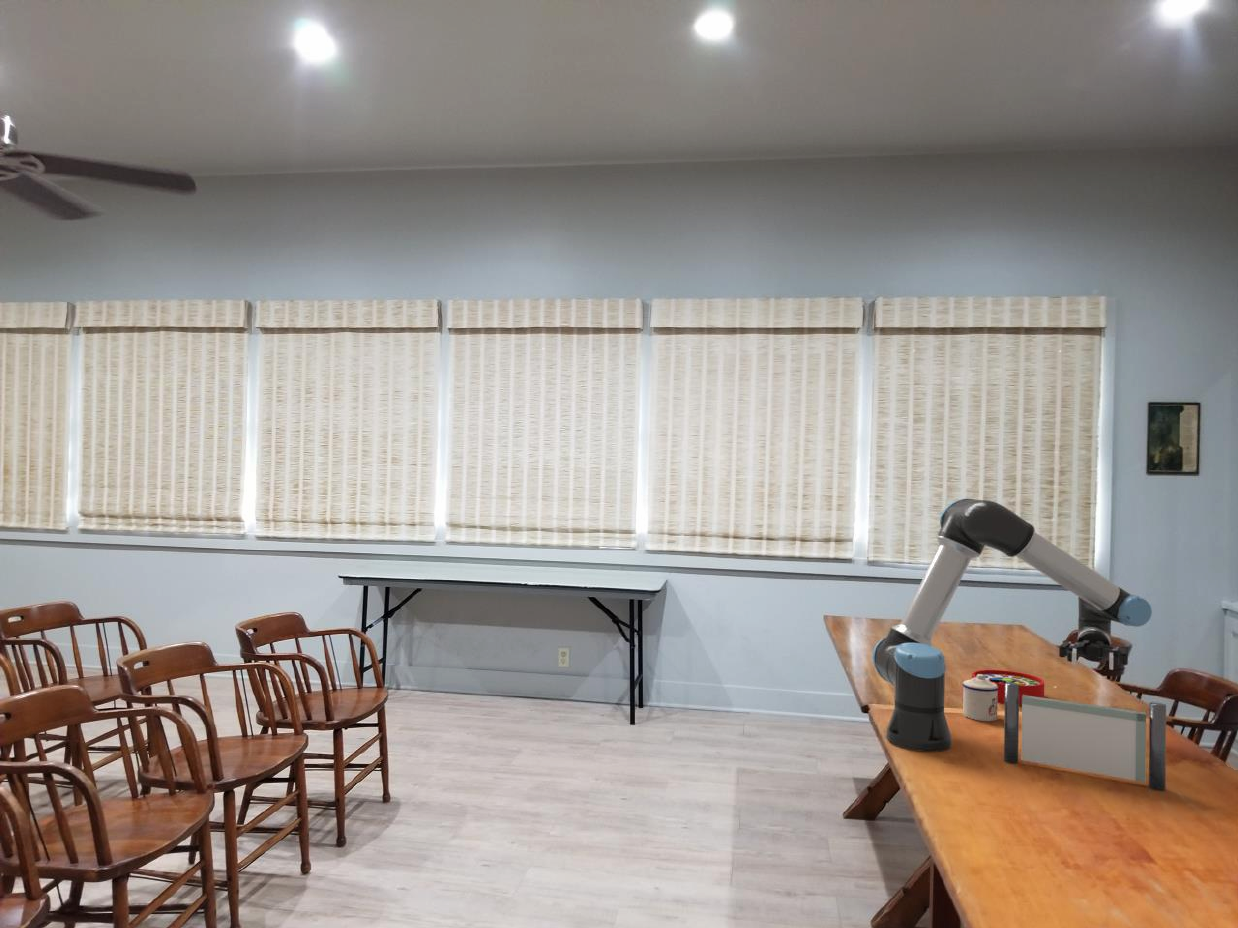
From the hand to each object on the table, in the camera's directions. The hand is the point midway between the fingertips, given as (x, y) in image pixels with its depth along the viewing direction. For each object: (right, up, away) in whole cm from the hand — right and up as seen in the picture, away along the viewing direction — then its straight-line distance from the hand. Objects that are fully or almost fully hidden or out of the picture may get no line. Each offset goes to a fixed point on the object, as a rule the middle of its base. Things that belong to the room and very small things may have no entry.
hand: (1092, 661), depth 185 cm
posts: (-6, -24, -6) cm, 25 cm away
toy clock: (+9, -26, +59) cm, 65 cm away
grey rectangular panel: (-6, -23, -6) cm, 24 cm away
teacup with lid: (-9, -25, +38) cm, 46 cm away
